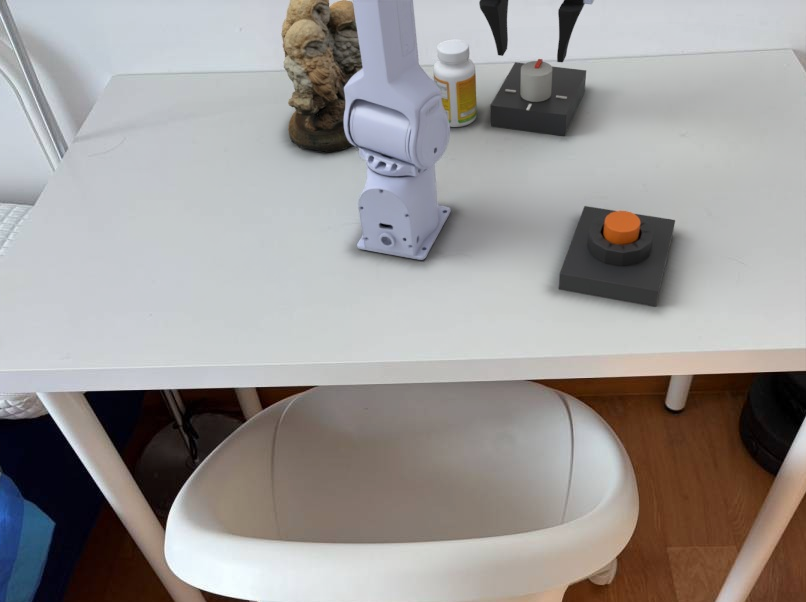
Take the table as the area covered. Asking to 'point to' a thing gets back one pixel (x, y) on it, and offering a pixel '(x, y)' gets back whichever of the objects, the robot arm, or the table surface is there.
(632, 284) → the housing
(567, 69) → the timer panel
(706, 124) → the table surface
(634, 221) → the button
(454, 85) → the supplement bottle
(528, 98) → the timer dial
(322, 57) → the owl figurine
